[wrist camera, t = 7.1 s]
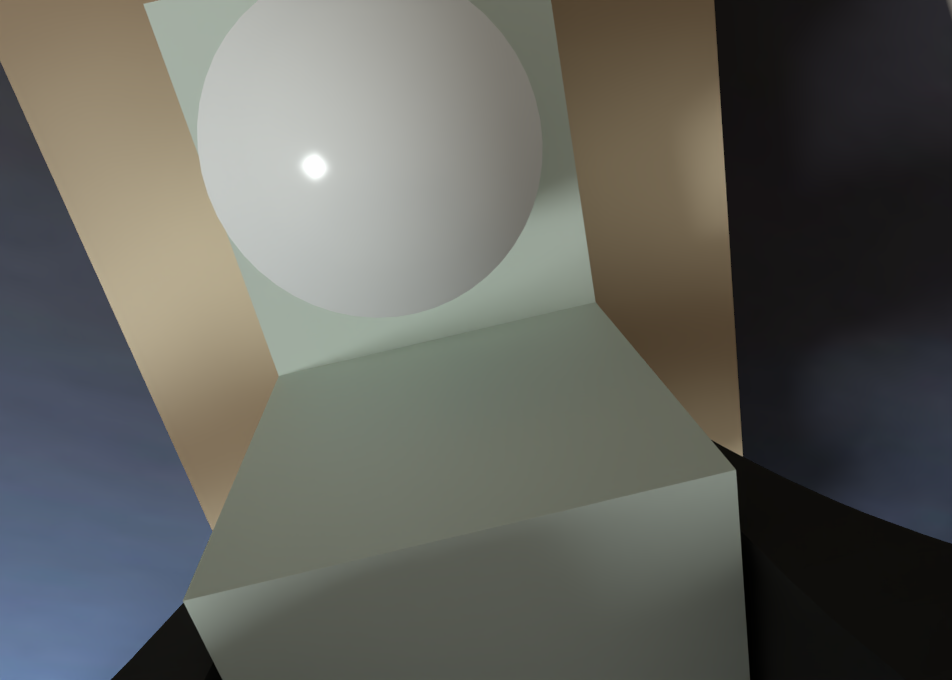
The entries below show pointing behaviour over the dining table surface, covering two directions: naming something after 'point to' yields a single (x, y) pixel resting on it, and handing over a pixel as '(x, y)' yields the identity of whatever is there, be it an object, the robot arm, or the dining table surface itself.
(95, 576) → the dining table surface
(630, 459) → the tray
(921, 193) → the dining table surface
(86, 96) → the shelf board
